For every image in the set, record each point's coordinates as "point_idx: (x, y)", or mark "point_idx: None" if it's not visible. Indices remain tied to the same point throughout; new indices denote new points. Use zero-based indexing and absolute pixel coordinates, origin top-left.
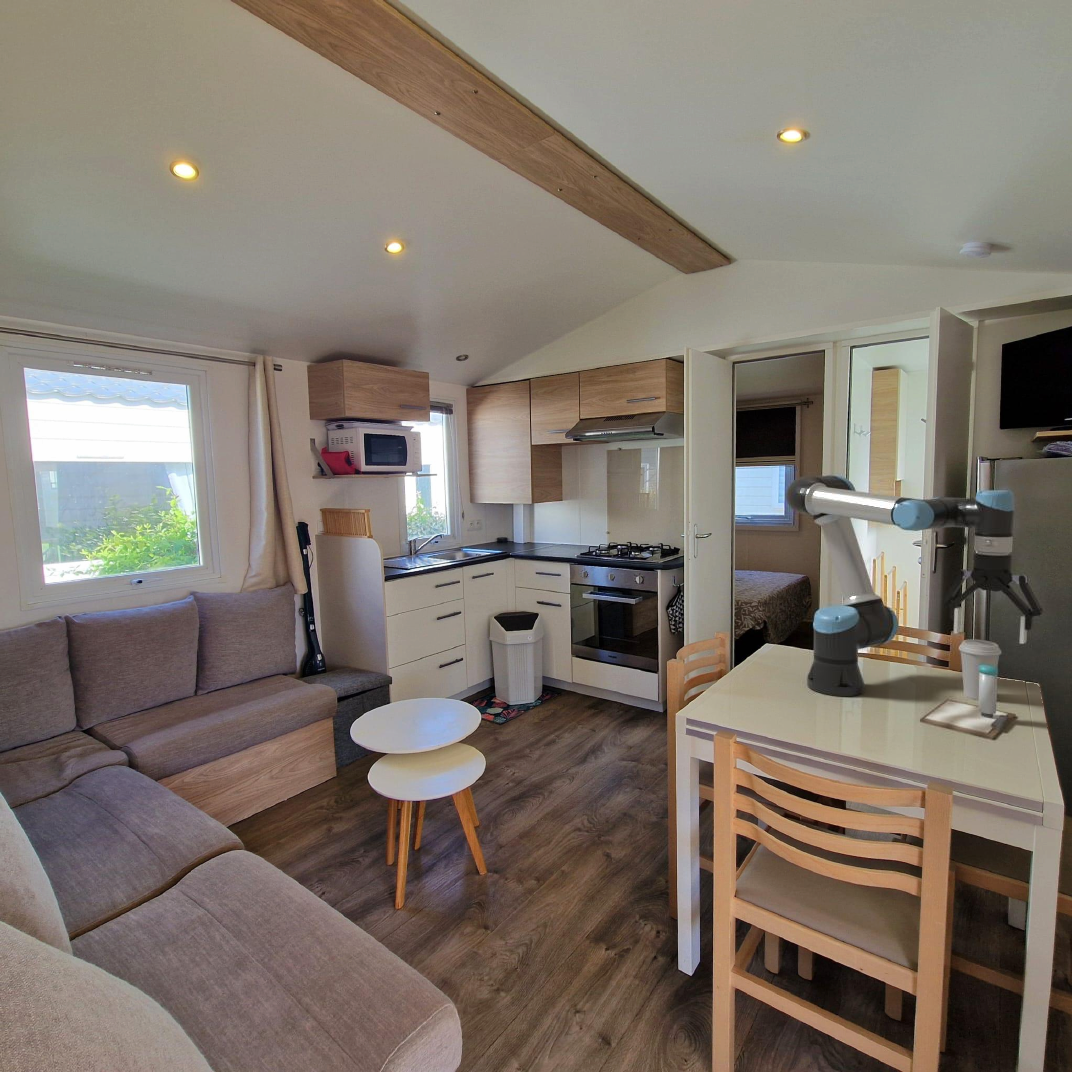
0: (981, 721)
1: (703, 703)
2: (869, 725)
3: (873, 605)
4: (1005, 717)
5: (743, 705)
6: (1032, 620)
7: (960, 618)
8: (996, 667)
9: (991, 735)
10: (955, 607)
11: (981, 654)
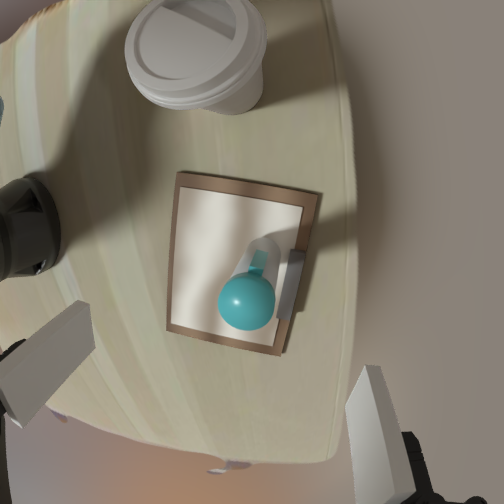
0: None
1: None
2: (125, 371)
3: None
4: (299, 264)
5: None
6: (423, 480)
7: (45, 352)
8: (268, 299)
9: (278, 350)
10: (4, 412)
11: (202, 106)
